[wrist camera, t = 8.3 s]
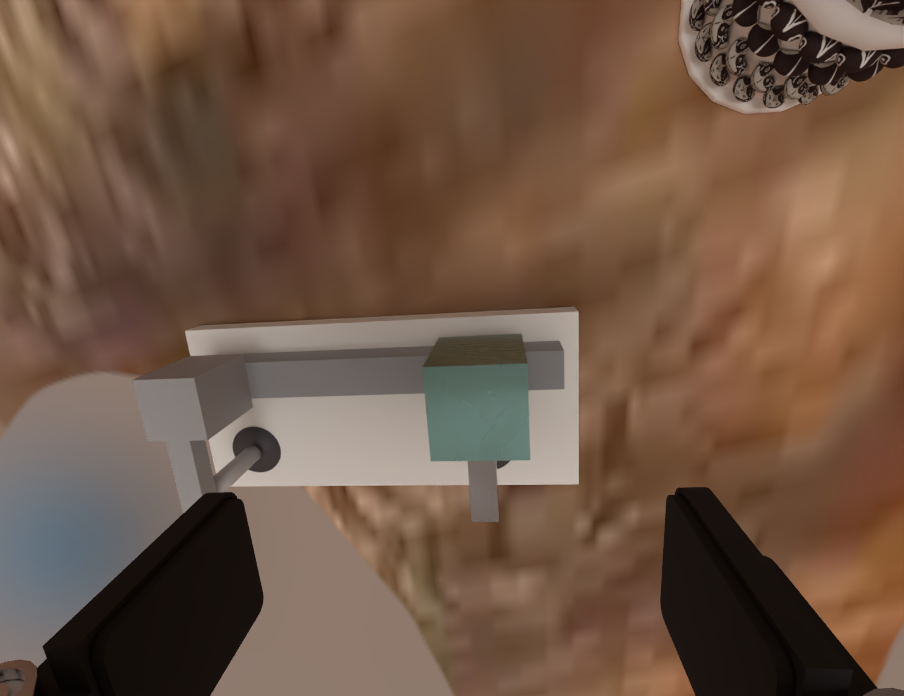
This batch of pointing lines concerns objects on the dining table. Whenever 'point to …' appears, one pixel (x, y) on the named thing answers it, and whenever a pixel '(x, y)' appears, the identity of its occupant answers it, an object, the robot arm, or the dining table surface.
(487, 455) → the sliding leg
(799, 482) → the dining table surface
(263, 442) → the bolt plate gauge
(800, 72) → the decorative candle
